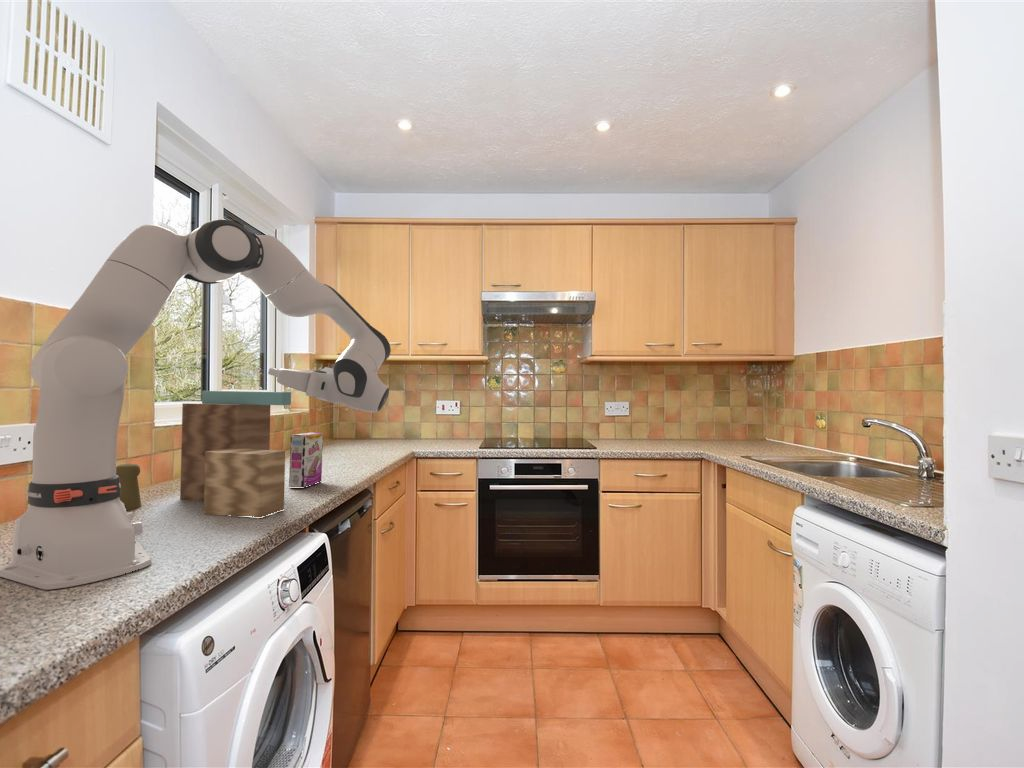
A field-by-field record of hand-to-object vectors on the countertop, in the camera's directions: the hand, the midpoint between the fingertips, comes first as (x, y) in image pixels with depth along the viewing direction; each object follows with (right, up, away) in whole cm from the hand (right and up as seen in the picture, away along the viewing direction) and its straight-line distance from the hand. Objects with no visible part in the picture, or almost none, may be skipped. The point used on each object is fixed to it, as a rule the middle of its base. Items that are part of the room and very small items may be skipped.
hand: (279, 371), depth 132 cm
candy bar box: (-2, -36, +23) cm, 42 cm away
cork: (-34, -35, -9) cm, 49 cm away
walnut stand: (-17, -35, +5) cm, 39 cm away
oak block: (-3, -35, -12) cm, 37 cm away
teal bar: (-11, -9, +4) cm, 15 cm away
